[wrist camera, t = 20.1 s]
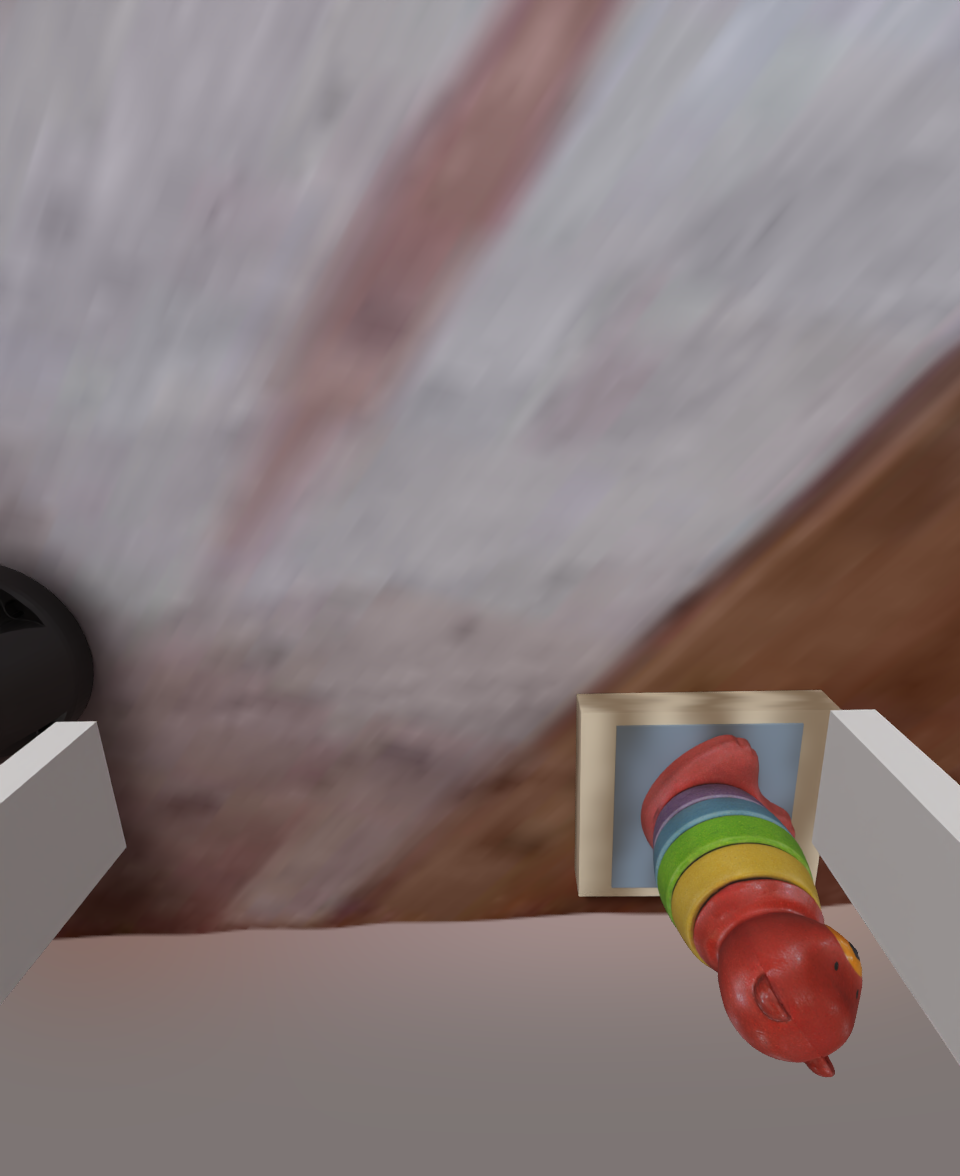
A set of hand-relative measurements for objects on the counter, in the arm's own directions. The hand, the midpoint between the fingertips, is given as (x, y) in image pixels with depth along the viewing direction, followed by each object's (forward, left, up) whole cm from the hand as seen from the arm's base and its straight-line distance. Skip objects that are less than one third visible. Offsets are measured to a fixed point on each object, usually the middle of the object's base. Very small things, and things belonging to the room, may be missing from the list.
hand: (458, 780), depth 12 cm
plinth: (+15, -24, -35) cm, 45 cm away
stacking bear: (+15, -24, -32) cm, 43 cm away
